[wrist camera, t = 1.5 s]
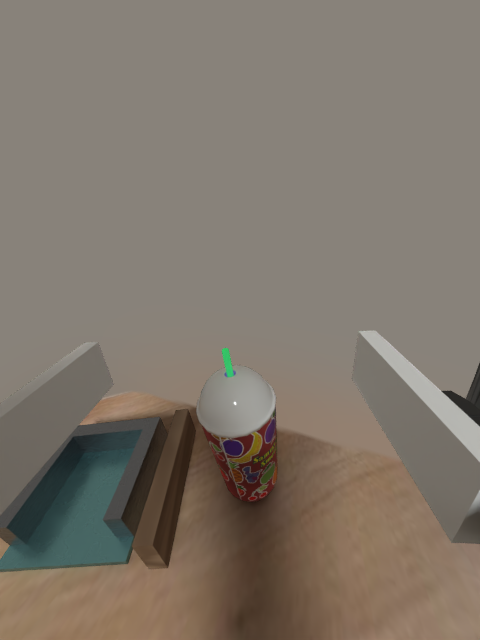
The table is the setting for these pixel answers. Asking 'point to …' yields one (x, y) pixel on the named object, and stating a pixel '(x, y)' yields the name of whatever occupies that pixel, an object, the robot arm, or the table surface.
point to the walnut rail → (165, 495)
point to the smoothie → (241, 428)
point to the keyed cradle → (85, 498)
